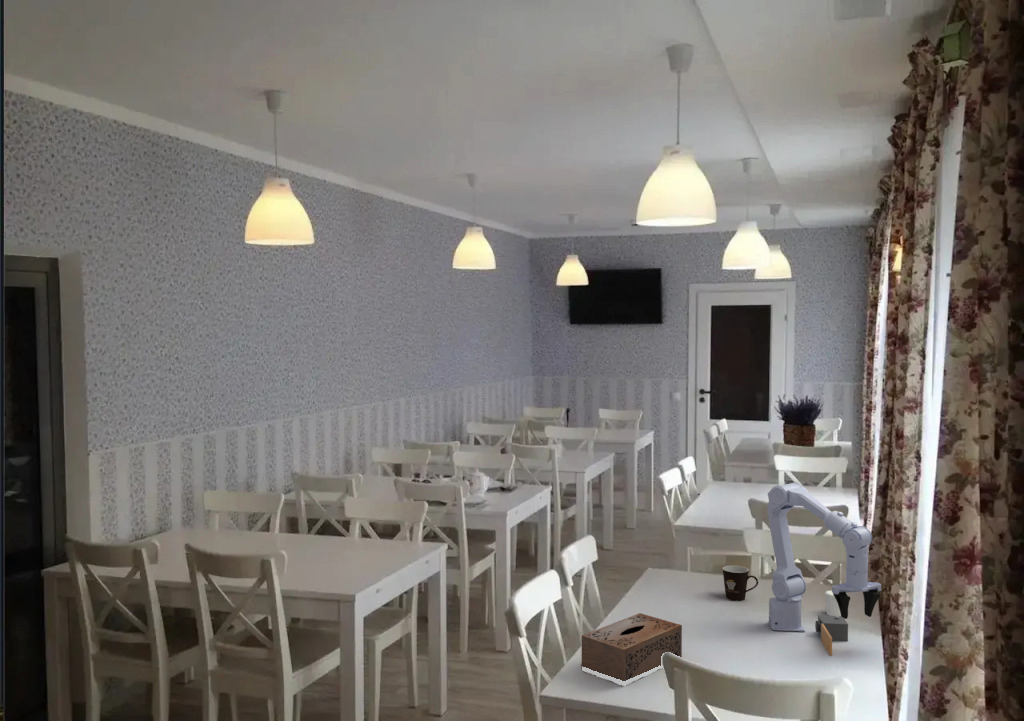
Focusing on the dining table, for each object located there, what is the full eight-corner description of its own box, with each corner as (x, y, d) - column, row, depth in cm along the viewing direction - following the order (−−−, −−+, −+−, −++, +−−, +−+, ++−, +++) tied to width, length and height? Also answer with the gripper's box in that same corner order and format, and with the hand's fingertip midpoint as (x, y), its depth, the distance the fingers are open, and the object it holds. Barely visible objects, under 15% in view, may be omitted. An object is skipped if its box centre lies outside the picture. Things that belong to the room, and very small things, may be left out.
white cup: (843, 611, 282) (843, 589, 281) (849, 618, 275) (850, 596, 275) (821, 610, 282) (822, 589, 282) (827, 617, 276) (827, 595, 275)
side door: (820, 639, 256) (820, 623, 256) (823, 640, 256) (823, 623, 256) (829, 655, 244) (829, 638, 244) (832, 655, 244) (832, 638, 244)
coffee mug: (717, 596, 298) (717, 567, 297) (737, 592, 301) (737, 564, 301) (739, 606, 287) (739, 576, 287) (760, 602, 291) (760, 572, 291)
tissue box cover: (639, 647, 252) (639, 613, 252) (681, 660, 242) (681, 625, 241) (581, 672, 234) (581, 635, 234) (624, 687, 224) (624, 649, 223)
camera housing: (818, 639, 256) (819, 621, 256) (813, 631, 263) (814, 613, 263) (847, 641, 255) (848, 622, 255) (842, 632, 262) (842, 614, 262)
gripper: (842, 575, 243) (841, 623, 243) (888, 572, 246) (887, 619, 246) (827, 568, 250) (827, 615, 250) (872, 565, 253) (872, 611, 253)
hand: (856, 616), depth 249 cm, fingers open, 7 cm apart
